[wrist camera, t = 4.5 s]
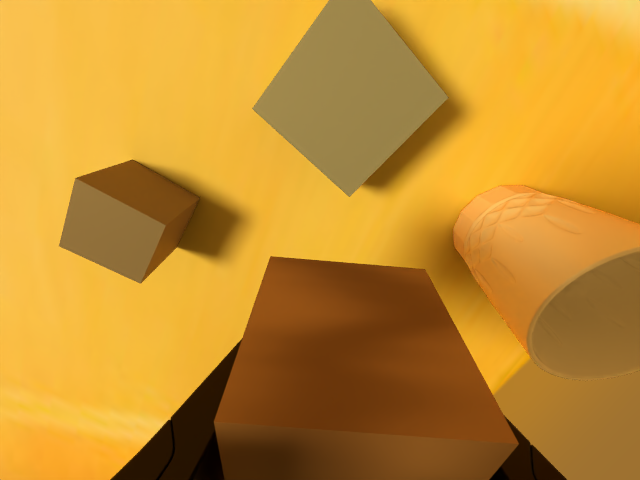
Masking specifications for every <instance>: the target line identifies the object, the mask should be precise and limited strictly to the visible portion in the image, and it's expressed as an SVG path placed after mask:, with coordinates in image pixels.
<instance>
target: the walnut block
mask: <svg viewBox="0 0 640 480" xmlns="http://www.w3.org/2000/svg"><path fill="white" fill-rule="evenodd" d="M214 425H215V431H216V436H217V442H218V447H219V452H220V458H221V463H222V469H223V474H224V480H489V479H490V478H491V477H492V476H493V475H494V473H495V472H496V471H497V470H498V469H499V467H500V466H501V465H502V464H503V463H504V461H505V460H506V459H507V458H508V457H509V455H510V454H511V453H512V452H513V451H514V449H515V448H516V447H517V446H518V445H519V443H518V441H517V439H516V437H515V436H514V434H513V432H512V430H511V428H510V426H509V424H508V423H507V421H506V419H505V417H504V415H503V413H502V412H501V410H500V408H499V406H498V404H497V402H496V400H495V398H494V397H493V395H492V393H491V391H490V389H489V387H488V385H487V384H486V382H485V380H484V378H483V376H482V374H481V372H480V371H479V369H478V367H477V365H476V363H475V361H474V359H473V358H472V356H471V354H470V352H469V350H468V348H467V346H466V345H465V343H464V341H463V339H462V337H461V335H460V333H459V332H458V330H457V328H456V326H455V324H454V322H453V320H452V319H451V317H450V315H449V313H448V311H447V309H446V307H445V306H444V304H443V302H442V300H441V298H440V296H439V294H438V293H437V291H436V289H435V287H434V285H433V283H432V281H431V280H430V278H429V276H428V274H427V272H426V270H425V269H415V268H403V267H391V266H379V265H367V264H355V263H343V262H331V261H319V260H307V259H295V258H284V257H272V256H271V257H270V259H269V262H268V265H267V268H266V271H265V274H264V277H263V280H262V283H261V286H260V289H259V292H258V294H257V297H256V300H255V303H254V306H253V309H252V312H251V315H250V318H249V321H248V324H247V327H246V329H245V332H244V335H243V338H242V341H241V344H240V347H239V350H238V353H237V356H236V359H235V362H234V364H233V367H232V370H231V373H230V376H229V379H228V382H227V385H226V388H225V391H224V394H223V397H222V399H221V402H220V405H219V408H218V411H217V414H216V417H215V420H214Z"/></svg>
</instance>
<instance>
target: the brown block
mask: <svg viewBox="0 0 640 480" xmlns="http://www.w3.org/2000/svg"><path fill="white" fill-rule="evenodd" d="M199 199H200V197H198V196H196V195H194V194H192V193H191V192H189V191H187V190H185V189H184V188H182V187H180V186H178V185H177V184H175V183H173V182H171V181H169V180H168V179H166V178H164V177H162V176H161V175H159V174H157V173H155V172H154V171H152V170H150V169H148V168H147V167H145V166H143V165H141V164H139V163H138V162H136V161H134V160H130V161H127V162H124V163H121V164H118V165H115V166H111V167H108V168H105V169H102V170H99V171H96V172H93V173H90V174H87V175H84V176H81V177H77V178H75V182H74V186H73V190H72V194H71V199H70V203H69V207H68V211H67V215H66V219H65V223H64V228H63V232H62V236H61V240H60V244H59V246H60V247H62V248H64V249H67V250H69V251H71V252H73V253H75V254H77V255H80V256H82V257H84V258H86V259H88V260H90V261H93V262H95V263H97V264H99V265H101V266H103V267H106V268H108V269H110V270H112V271H114V272H116V273H119V274H121V275H123V276H125V277H127V278H129V279H132V280H134V281H136V282H138V283H140V284H141V283H142V282H143V281H144V280H145V279H146V278H147V277H148V276H149V275H150V274H151V273H152V272H153V271H154V270H155V269H156V268H157V267H158V266H159V265H160V264H161V263H162V262H163V261H164V260H165V259H166V258H167V257H168V256H169V255H170V254H171V253H172V252H173V251H174V250H175V249H176V248H177V246H178V244H179V242H180V239H181V237H182V235H183V233H184V231H185V229H186V227H187V225H188V223H189V220H190V218H191V216H192V214H193V212H194V210H195V208H196V206H197V204H198V201H199Z"/></svg>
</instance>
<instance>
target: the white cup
mask: <svg viewBox="0 0 640 480" xmlns="http://www.w3.org/2000/svg"><path fill="white" fill-rule="evenodd" d="M453 236H454V247H455V249H456V250H457V251H458V253H459V254H460V255H461V257H462V258H463V259H464V261H465V262H466V264H467V266H468V267H469V269H470V272H471V274H472V275H473V277H474V278H475V280H476V281H477V283H478V284H479V286H480V287H481V289H482V290H483V291H484V292H485V294H486V296H487V298H488V299H489V301H490V302H491V304H492V305H493V306H494V307H495V309H496V310H497V311H498V313H499V314H500V315H501V317H502V318H503V320H504V321H505V322H506V324H507V325H508V326H509V328H510V329H511V331H512V332H513V334H514V335H515V336H516V338H517V339H518V341H519V342H520V343H521V345H522V346H523V348H524V349H525V350H526V352H527V353H528V355H529V356H530V357H531V359H532V360H533V361H534V363H535V364H537V366H539V367H540V368H541V369H542V370H544V371H546V372H548V373H550V374H552V375H555V376H558V377H562V378H566V379H572V380H599V379H608V378H613V377H619V376H623V375H627V374H630V373H633V372H637V371H640V224H638V223H635V222H633V221H630V220H627V219H624V218H621V217H619V216H616V215H613V214H610V213H608V212H605V211H602V210H599V209H596V208H593V207H589V206H586V205H583V204H580V203H577V202H574V201H571V200H568V199H565V198H562V197H557V196H552V195H548V194H545V193H542V192H539V191H537V190H534V189H531V188H529V187H526V186H523V185H509V186H498V187H496V188H493V189H491V190H489V191H487V192H484V193H482V194H480V195H478V196H477V197H476V198H474V199H473V200H472V201H471V202H470V203H469V204H468V205H467V206H466V207H465V208H464V209H463V210H462V211H461V213H460V215H459V217H458V220H457V222H456V224H455V226H454V228H453Z"/></svg>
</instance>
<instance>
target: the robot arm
mask: <svg viewBox="0 0 640 480" xmlns="http://www.w3.org/2000/svg"><path fill="white" fill-rule="evenodd" d="M241 341H242V339H241V340H240V342H239V343H238V344H237V345H236V346H235V347H234V348H233V349H232V350H231V351H230V353H229V354H228V355H227V356H226V357H225V358H224V359H223V360H222V361H221V363H220V364H219V365H218V366H217V367H216V368H215V369H214V370H213V371H212V372H211V374H210V375H209V376H208V377H207V378H206V379H205V380H204V381H203V382H202V384H201V385H200V386H199V387H198V388H197V389H196V390H195V391H194V392H193V393H192V395H191V396H190V397H189V398H188V399H187V400H186V401H185V402H184V403H183V405H182V406H181V407H180V408H179V409H178V410H177V411H176V412H175V413H174V415H173V416H172V417H171V420H168V421H167V422H166V423H165V424H164V425H163V427H162V428H161V429H160V430H159V431H158V432H157V433H156V434H155V435H154V436H153V437H152V438H151V440H150V441H149V442H148V443H147V444H146V445H145V446H144V447H143V448H142V449H141V450H140V451H139V452H138V453H137V454H136V455H135V456H134V457H133V458H132V459H131V460H130V461H129V462H128V463H127V464H126V465H125V466H124V467H123V468H122V469H121V470H120V471H119V472H118V473H117V474H116V475H115V476H114V477H113V478H111V479H110V480H224V474H223V469H222V463H221V458H220V452H219V447H218V442H217V436H216V431H215V425H214V420H215V417H216V414H217V411H218V408H219V405H220V402H221V399H222V397H223V394H224V391H225V388H226V385H227V382H228V379H229V376H230V373H231V370H232V367H233V364H234V362H235V359H236V356H237V353H238V350H239V347H240V344H241ZM504 417H505V416H504ZM505 419H506V421H507V423H508V424H509V426H510V428H511V430H512V432H513V434H514V436H515V437H516V439H517V441H518V443H519V445H518V446H517V447H516V448H515V449H514V451H513V452H512V453H511V454H510V455H509V457H508V458H507V459H506V460H505V461H504V463H503V464H502V465H501V466H500V467H499V469H498V470H497V471H496V472H495V473H494V475H493V476H492V477H491V478H490V479H489V480H567V479H566V478H565V477H564V476H563V475H562V474H561V473H560V472H559V471H558V470H557V469H556V468H555V467H554V466H553V465H552V464H551V463H550V462H549V461H548V460H547V459H546V458H545V457H544V456H543V455H542V454H541V453H540V452H539V451H538V450H537V449H536V448H535V447H534V446H533V445H530V442H529V441H528V440H527V439H526V438H525V437H524V436H523V435H522V434H521V432H520V431H519V430H518V429H517V428H516V427H515V426H514V425H513V424H512V423H511V422H510V421H509V420H508V419H507V418H506V417H505Z"/></svg>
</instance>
